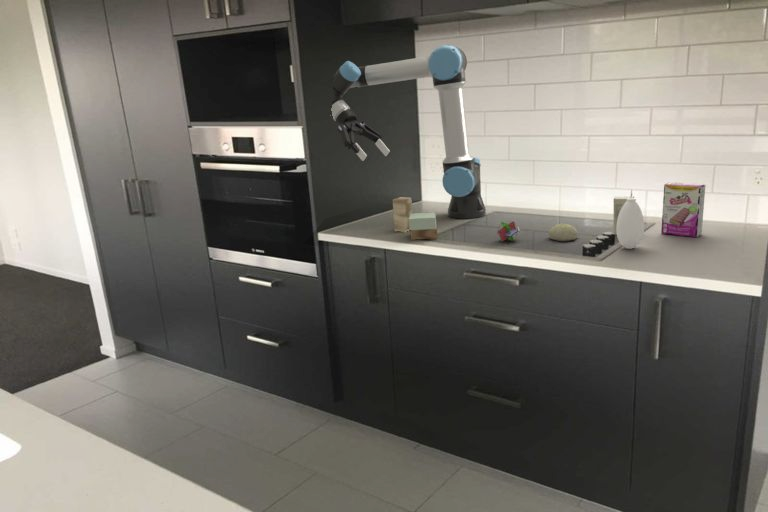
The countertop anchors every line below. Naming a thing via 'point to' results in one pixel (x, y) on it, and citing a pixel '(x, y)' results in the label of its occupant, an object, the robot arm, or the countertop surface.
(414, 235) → the tower base block
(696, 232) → the candy bar box
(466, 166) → the robot arm
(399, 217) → the tall oak block
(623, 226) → the white air blower bulb
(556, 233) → the sea urchin shell
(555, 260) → the countertop surface
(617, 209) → the skincare box
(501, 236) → the geometric puzzle
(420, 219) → the tower top block
